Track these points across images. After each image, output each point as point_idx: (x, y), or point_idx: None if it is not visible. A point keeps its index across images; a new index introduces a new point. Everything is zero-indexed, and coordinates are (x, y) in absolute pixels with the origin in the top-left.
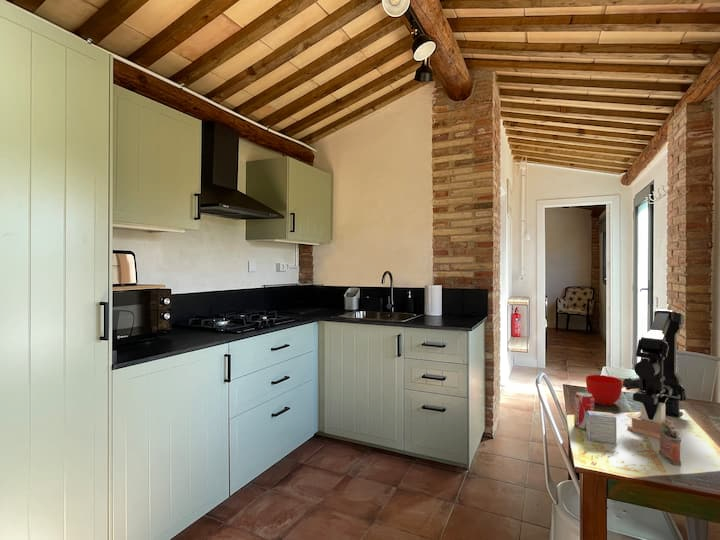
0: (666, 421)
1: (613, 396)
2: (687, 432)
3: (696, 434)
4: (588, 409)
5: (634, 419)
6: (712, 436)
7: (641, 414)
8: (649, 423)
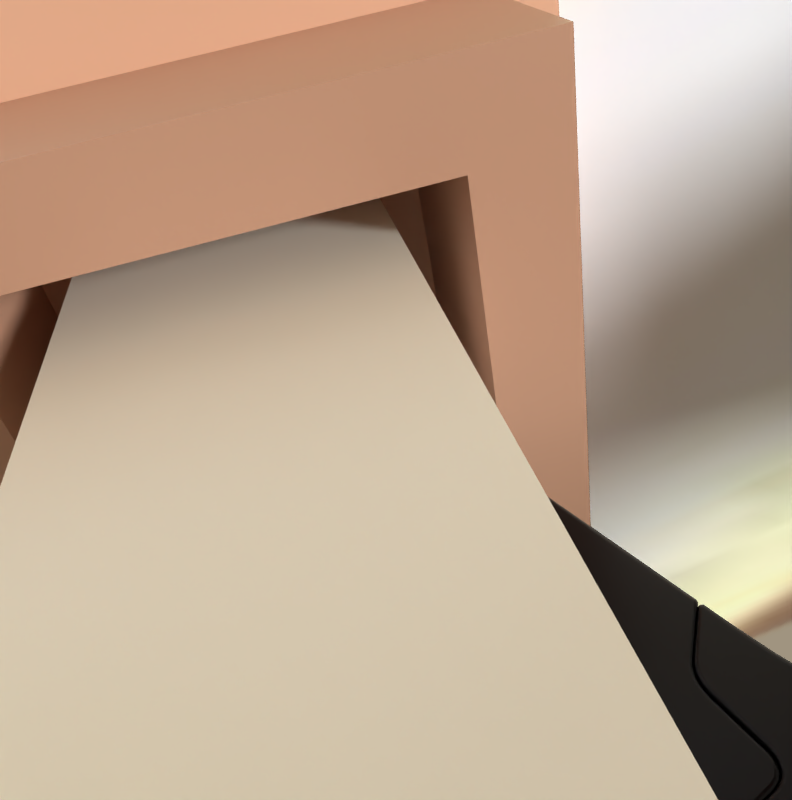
0: None
1: None
2: (699, 506)
3: (707, 565)
4: None
5: None
6: (770, 626)
7: (38, 448)
8: None
